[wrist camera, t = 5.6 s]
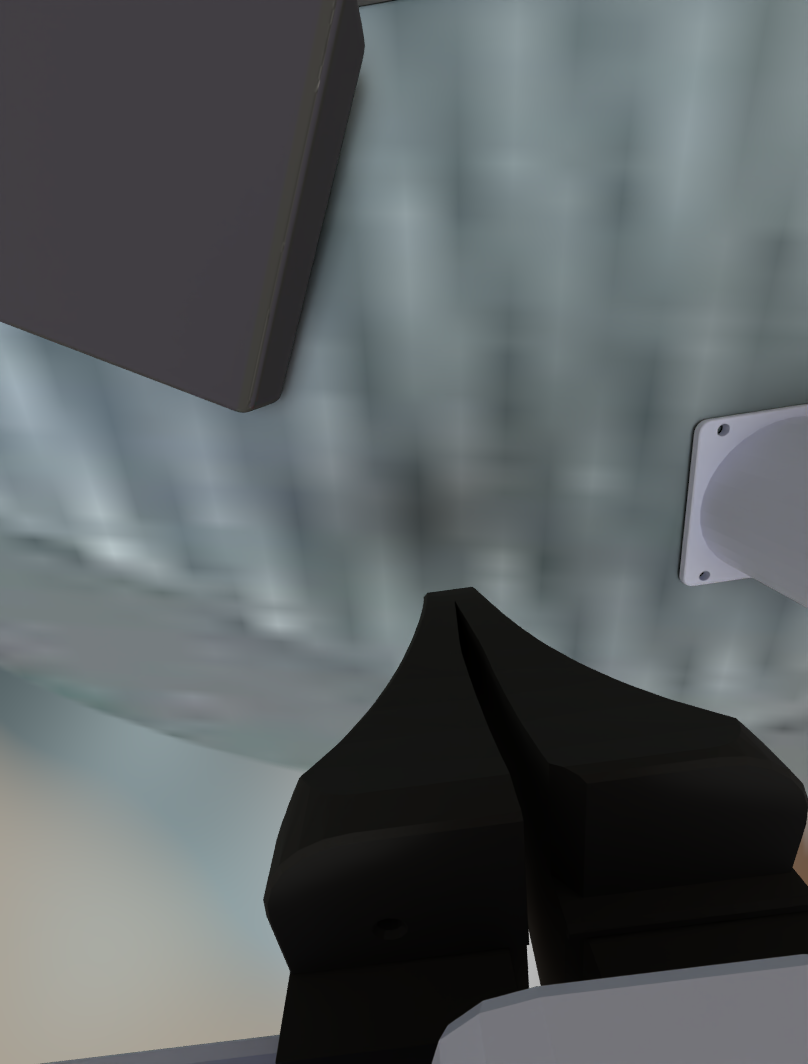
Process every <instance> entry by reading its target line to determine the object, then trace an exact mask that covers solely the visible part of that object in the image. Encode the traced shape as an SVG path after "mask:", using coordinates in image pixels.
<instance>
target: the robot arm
mask: <svg viewBox="0 0 808 1064" xmlns="http://www.w3.org/2000/svg"><path fill="white" fill-rule="evenodd" d="M721 425H722V426H723V429H722V431H721V432H720V433H719V434H718V433H717V430H718V428H719V427H720V426H721ZM702 572H704V574H703V575H702V576H700V574H701V573H702ZM699 576H700V577H699ZM679 577H680V580H681V581H682V582H683V583H684V584H686V585H688V586H696V585H703V584H710V583H717V582H723V581H730V580H737V579H744V578H751V577H752V578H754V579H756V580H757V581H759V582H761V583H763V584H765V585H766V586H768V587H770V588H772V589H774V590H776V591H777V592H779V593H781V594H783V595H785V596H786V597H788V598H790V599H792V600H794V601H795V602H797V603H799V604H801V605H803V606H804V607H806V608H808V404H802V405H795V406H789V407H782V408H776V409H769V410H763V411H756V412H750V413H743V414H737V415H730V416H724V417H717V418H711V419H706V420H703V421H701V422H700V423H699V424H698V425H697V427H696V428H695V432H694V440H693V449H692V459H691V468H690V478H689V488H688V497H687V507H686V517H685V526H684V536H683V545H682V555H681V565H680V574H679ZM807 812H808V798H807V794H806V791H805V788H804V785H803V783H802V782H801V781H800V780H799V779H798V778H797V777H796V776H795V775H794V774H793V773H792V772H791V770H790V769H789V768H788V767H787V766H786V765H785V764H784V763H783V762H782V761H781V760H780V759H779V758H778V757H777V756H776V755H775V754H774V753H773V752H772V751H771V750H770V749H769V748H768V747H767V746H766V745H765V744H764V743H763V742H762V741H761V740H759V739H758V738H757V737H756V736H755V735H754V734H753V733H752V732H751V731H750V730H749V729H748V728H746V727H745V726H744V725H743V724H742V723H741V722H739V721H738V720H737V719H736V718H733V717H730V716H726V715H723V714H719V713H716V712H712V711H709V710H705V709H702V708H698V707H695V706H691V705H688V704H684V703H681V702H677V701H674V700H671V699H667V698H665V697H662V696H659V695H656V694H653V693H650V692H648V691H645V690H642V689H639V688H636V687H634V686H631V685H629V684H626V683H624V682H621V681H618V680H616V679H614V678H611V677H609V676H607V675H605V674H602V673H600V672H598V671H596V670H593V669H591V668H589V667H587V666H585V665H583V664H581V663H579V662H577V661H575V660H573V659H571V658H569V657H567V656H566V655H564V654H562V653H560V652H558V651H557V650H555V649H553V648H551V647H549V646H548V645H546V644H545V643H543V642H541V641H540V640H538V639H537V638H535V637H534V636H532V635H531V634H529V633H528V632H526V631H525V630H524V629H522V628H521V627H519V626H518V625H517V624H516V623H514V622H513V621H512V620H511V619H509V618H508V617H507V616H505V615H504V614H503V613H502V612H501V611H499V610H498V609H497V608H496V607H495V606H494V605H492V604H491V603H490V602H489V601H488V600H487V599H486V598H485V597H484V596H482V595H481V594H480V593H479V592H478V591H477V590H476V589H475V588H473V587H467V588H460V589H453V590H445V591H438V592H431V593H427V594H426V595H425V596H424V604H423V609H422V613H421V617H420V620H419V623H418V625H417V628H416V631H415V634H414V636H413V639H412V641H411V643H410V645H409V647H408V649H407V652H406V654H405V656H404V658H403V660H402V662H401V663H400V665H399V667H398V669H397V670H396V672H395V674H394V675H393V677H392V679H391V680H390V682H389V683H388V685H387V686H386V688H385V689H384V690H383V692H382V693H381V695H380V696H379V697H378V699H377V700H376V702H375V703H374V704H373V705H372V707H371V708H370V709H369V711H368V712H367V713H366V714H365V715H364V716H363V718H362V719H361V720H360V721H359V722H358V723H357V724H356V725H355V726H354V727H353V729H352V730H351V731H350V732H349V733H348V734H347V735H346V736H345V737H344V738H343V739H342V740H341V741H340V742H339V743H338V744H337V745H336V746H335V747H334V748H333V749H332V750H331V751H329V752H328V753H327V754H326V755H325V756H324V757H323V758H322V759H320V760H319V761H318V762H317V763H316V764H315V765H314V766H312V767H311V768H310V769H309V770H308V771H307V772H305V773H304V774H303V775H302V776H301V777H300V778H299V780H298V783H297V785H296V788H295V790H294V792H293V795H292V797H291V800H290V802H289V805H288V808H287V811H286V814H285V816H284V819H283V821H282V825H281V828H280V831H279V834H278V838H277V841H276V845H275V850H274V855H273V859H272V863H271V868H270V872H269V876H268V881H267V885H266V890H265V894H264V899H263V901H264V906H265V911H266V915H267V918H268V921H269V923H270V925H271V928H272V930H273V932H274V935H275V937H276V939H277V942H278V944H279V946H280V949H281V951H282V953H283V956H284V958H285V960H286V963H287V965H288V967H289V970H290V976H289V982H288V988H287V995H286V1000H285V1006H284V1012H283V1018H282V1024H281V1031H280V1035H274V1036H267V1037H258V1038H250V1039H241V1040H233V1041H224V1042H216V1043H208V1044H200V1045H191V1046H183V1047H176V1048H167V1049H158V1050H150V1051H142V1052H133V1053H125V1054H117V1055H109V1056H101V1057H92V1058H84V1059H76V1060H68V1061H59V1062H51V1063H42V1064H808V886H807V885H806V884H805V883H804V881H803V880H802V879H801V877H800V876H799V875H798V874H797V873H796V871H795V870H794V869H793V868H792V867H793V864H794V860H795V857H796V854H797V851H798V848H799V845H800V842H801V839H802V835H803V832H804V829H805V826H806V820H807ZM528 929H529V930H528ZM528 932H529V933H530V938H531V943H532V947H533V952H534V956H535V961H536V965H537V970H538V975H539V979H540V984H541V986H536V987H533V988H529V982H528V981H529V980H528V960H527V945H529V933H528Z"/></svg>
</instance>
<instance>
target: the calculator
mask: <svg viewBox="0 0 808 1064" xmlns="http://www.w3.org/2000/svg"><path fill="white" fill-rule="evenodd" d="M364 47H365V44H364V35H363V29H362V23H361V18H360V13H359V7H358V2H357V0H0V322H3V323H6V324H8V325H11V326H13V327H16V328H19V329H21V330H24V331H27V332H29V333H32V334H34V335H37V336H40V337H42V338H45V339H48V340H50V341H53V342H55V343H58V344H61V345H63V346H66V347H69V348H71V349H74V350H76V351H79V352H82V353H84V354H87V355H90V356H92V357H95V358H97V359H100V360H103V361H105V362H108V363H111V364H113V365H116V366H118V367H121V368H124V369H126V370H129V371H132V372H134V373H137V374H139V375H142V376H145V377H147V378H150V379H153V380H155V381H158V382H160V383H163V384H166V385H168V386H171V387H174V388H176V389H179V390H181V391H184V392H187V393H189V394H192V395H195V396H197V397H200V398H202V399H205V400H208V401H210V402H213V403H216V404H218V405H221V406H223V407H226V408H229V409H231V410H234V411H237V412H242V413H244V412H249V411H252V410H255V409H258V408H260V407H263V406H266V405H269V404H271V403H274V402H276V401H277V400H278V399H279V398H280V395H281V392H282V388H283V384H284V380H285V376H286V372H287V368H288V363H289V359H290V355H291V351H292V347H293V343H294V339H295V335H296V331H297V326H298V322H299V318H300V314H301V310H302V306H303V302H304V298H305V294H306V289H307V285H308V281H309V277H310V273H311V269H312V265H313V261H314V257H315V253H316V248H317V244H318V240H319V236H320V232H321V228H322V224H323V220H324V216H325V211H326V207H327V203H328V199H329V195H330V191H331V187H332V183H333V179H334V175H335V170H336V166H337V162H338V158H339V154H340V150H341V146H342V142H343V138H344V133H345V129H346V125H347V121H348V117H349V113H350V109H351V105H352V101H353V97H354V92H355V88H356V84H357V80H358V76H359V72H360V68H361V64H362V59H363V55H364Z"/></svg>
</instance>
